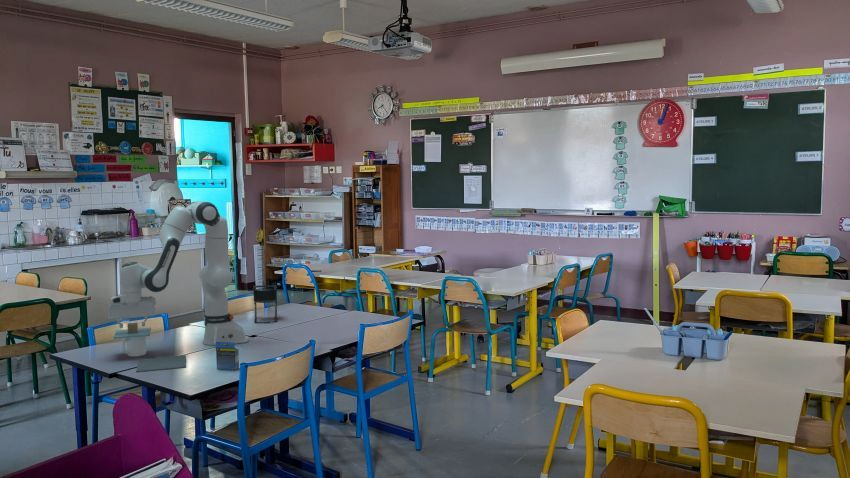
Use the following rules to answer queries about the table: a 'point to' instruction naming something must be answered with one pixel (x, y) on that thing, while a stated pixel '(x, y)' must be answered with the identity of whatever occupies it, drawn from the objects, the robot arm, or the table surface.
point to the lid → (132, 332)
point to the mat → (161, 363)
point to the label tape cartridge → (227, 356)
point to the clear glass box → (265, 299)
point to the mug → (135, 346)
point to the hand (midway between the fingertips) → (132, 326)
